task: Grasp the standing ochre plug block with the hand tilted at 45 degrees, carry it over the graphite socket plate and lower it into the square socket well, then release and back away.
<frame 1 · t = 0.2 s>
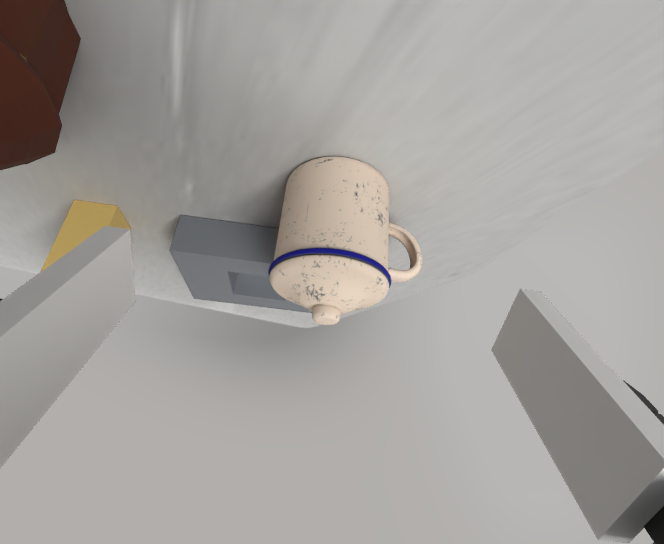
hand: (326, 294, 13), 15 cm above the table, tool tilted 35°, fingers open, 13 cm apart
plug: (104, 214, 39), on the table
socket plate: (264, 255, 44), on the table
teacup with lid: (354, 192, 33), on the table
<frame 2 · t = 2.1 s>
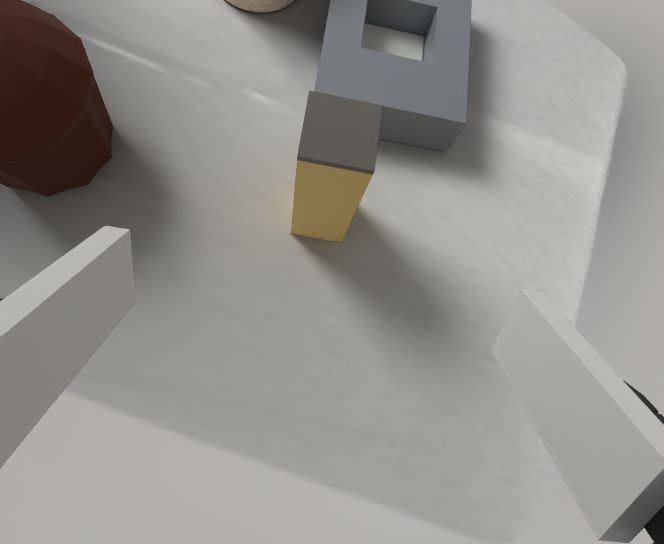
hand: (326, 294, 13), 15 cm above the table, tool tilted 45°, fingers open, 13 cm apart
muffin: (53, 143, 30), on the table
plug: (319, 214, 31), on the table
socket plate: (387, 64, 35), on the table
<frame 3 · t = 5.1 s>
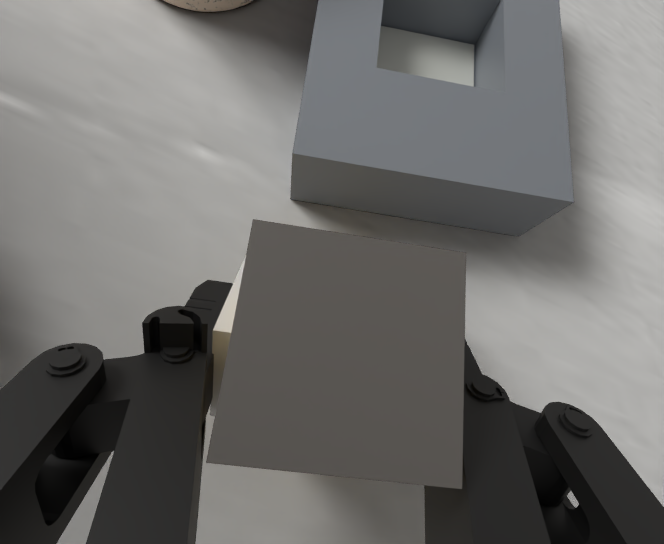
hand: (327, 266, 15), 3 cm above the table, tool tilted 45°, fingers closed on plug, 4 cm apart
plug: (308, 369, 17), on the table, touching gripper
socket plate: (415, 90, 22), on the table
when the fingers open (6 cm above the table, at t = 10.5 s): plug drops 1 cm, resting on socket plate.
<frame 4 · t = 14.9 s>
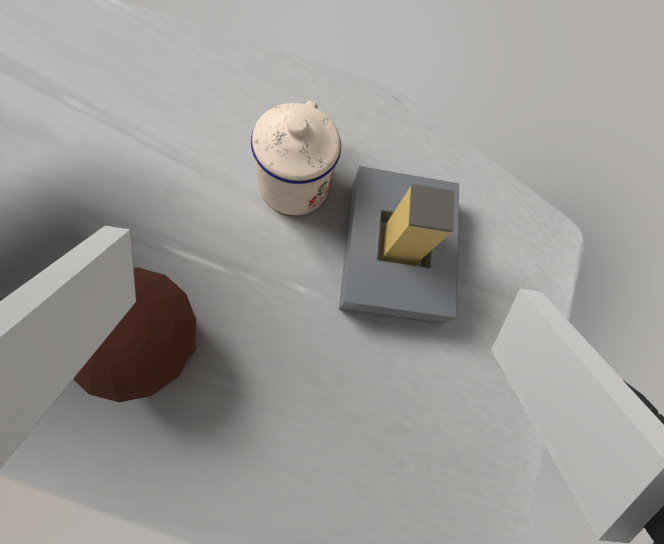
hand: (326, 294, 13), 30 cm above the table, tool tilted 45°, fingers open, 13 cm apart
muffin: (153, 340, 40), on the table
plug: (397, 247, 45), point 1 cm above the table, touching socket plate
socket plate: (395, 250, 46), on the table
teacup with lid: (297, 175, 48), on the table
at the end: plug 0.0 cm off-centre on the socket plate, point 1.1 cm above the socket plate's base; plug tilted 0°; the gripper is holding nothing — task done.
